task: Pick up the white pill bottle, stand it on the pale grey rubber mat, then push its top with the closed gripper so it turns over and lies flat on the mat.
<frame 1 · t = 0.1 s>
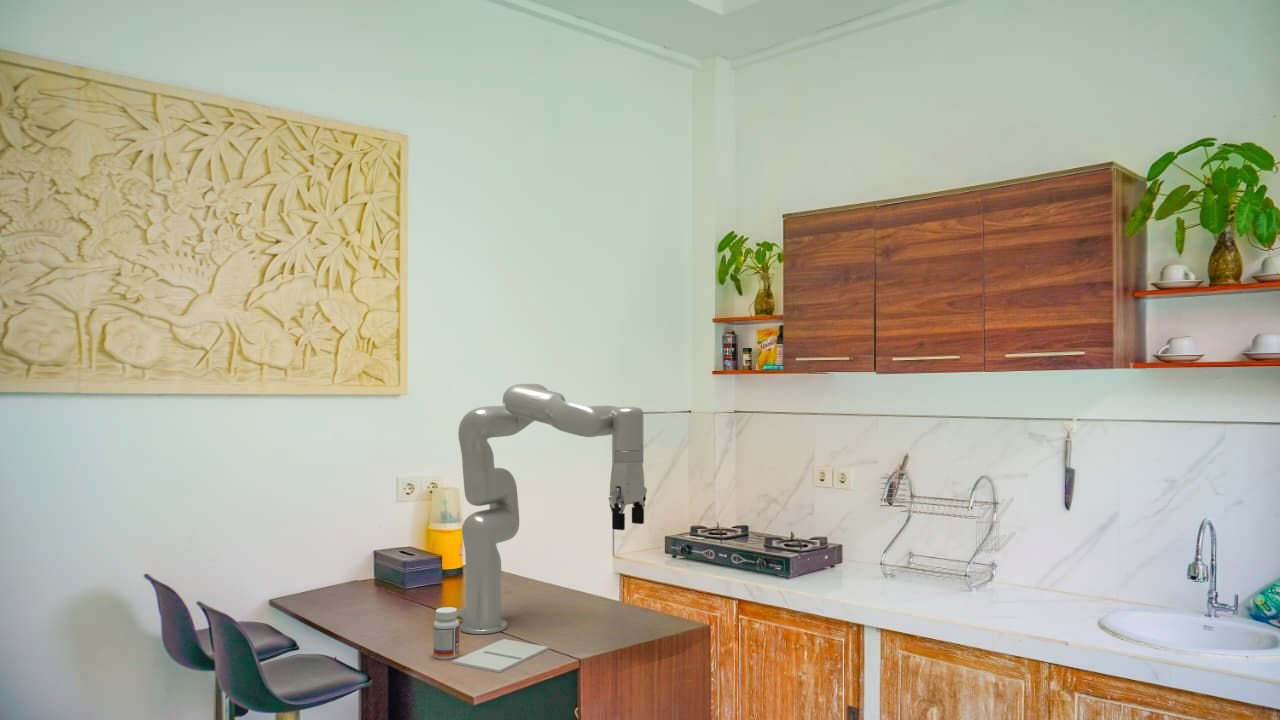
hand: (628, 526, 225), 31 cm above the table, fingers open, 9 cm apart
pill bottle: (446, 656, 222), on the table
mat: (501, 656, 222), on the table
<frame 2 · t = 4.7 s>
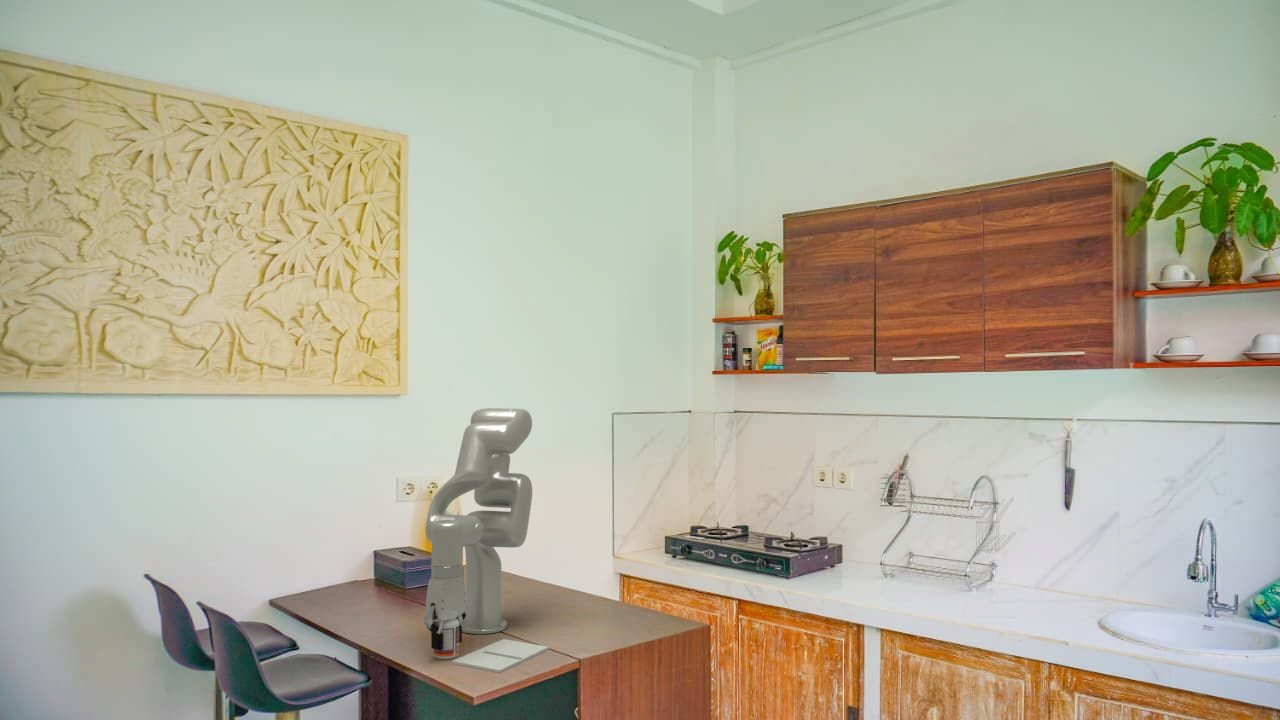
hand: (446, 644, 222), 3 cm above the table, fingers closed on pill bottle, 6 cm apart
pill bottle: (446, 656, 222), on the table, touching gripper
when the fingers open (4 cm above the table, at t = 10.6 s): pill bottle drops 1 cm, resting on mat.
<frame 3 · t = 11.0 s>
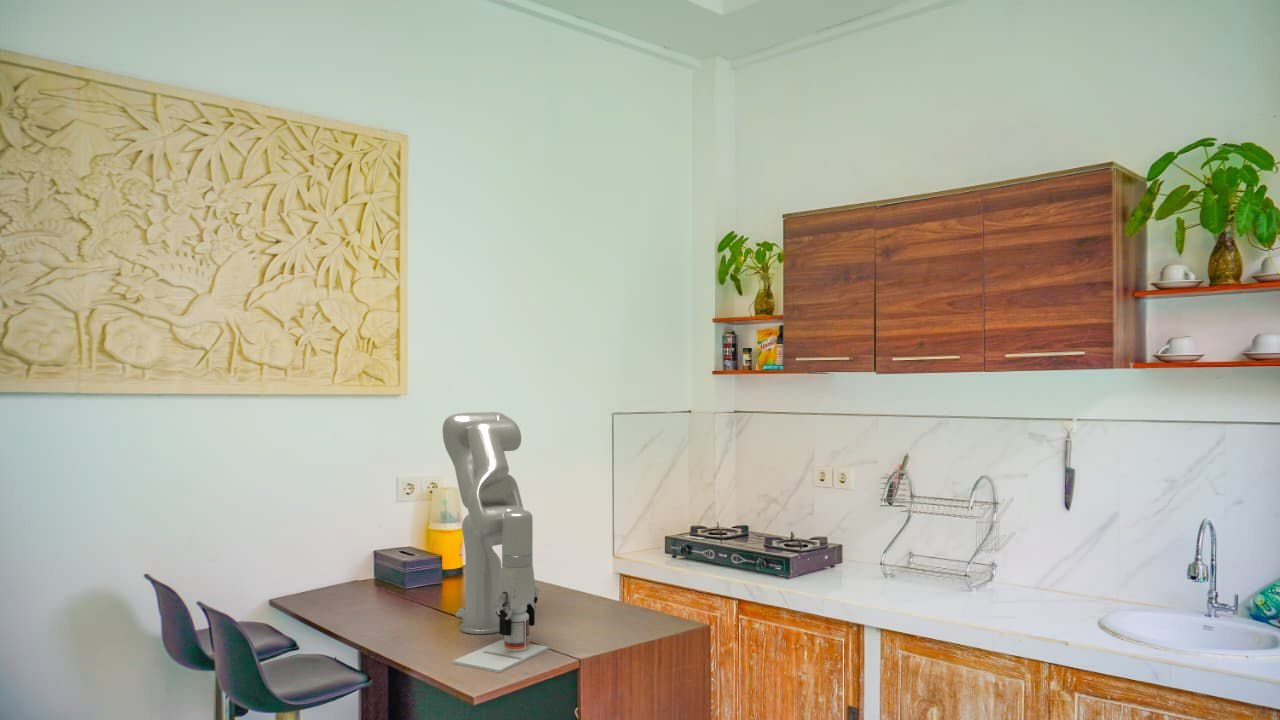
hand: (517, 629, 226), 5 cm above the table, fingers open, 9 cm apart
pill bottle: (516, 649, 226), resting on mat
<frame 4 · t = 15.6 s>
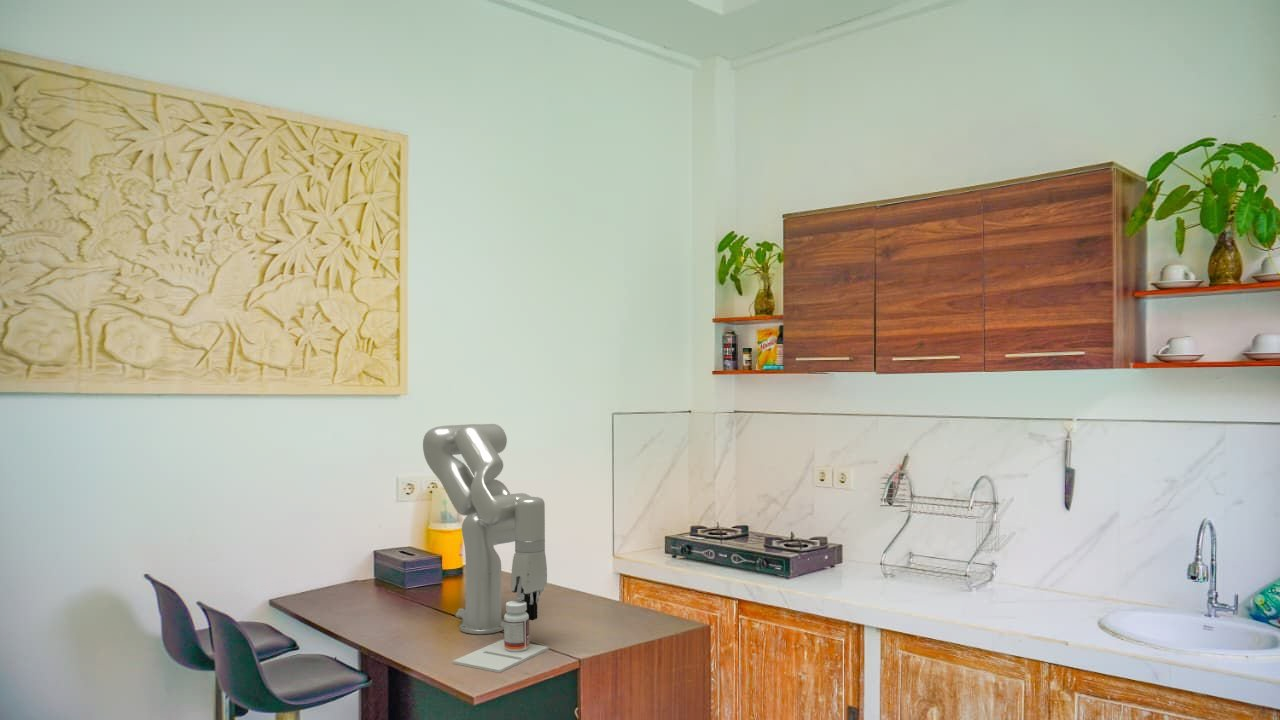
hand: (530, 618, 230), 7 cm above the table, fingers closed
pill bottle: (516, 649, 226), resting on mat, touching gripper
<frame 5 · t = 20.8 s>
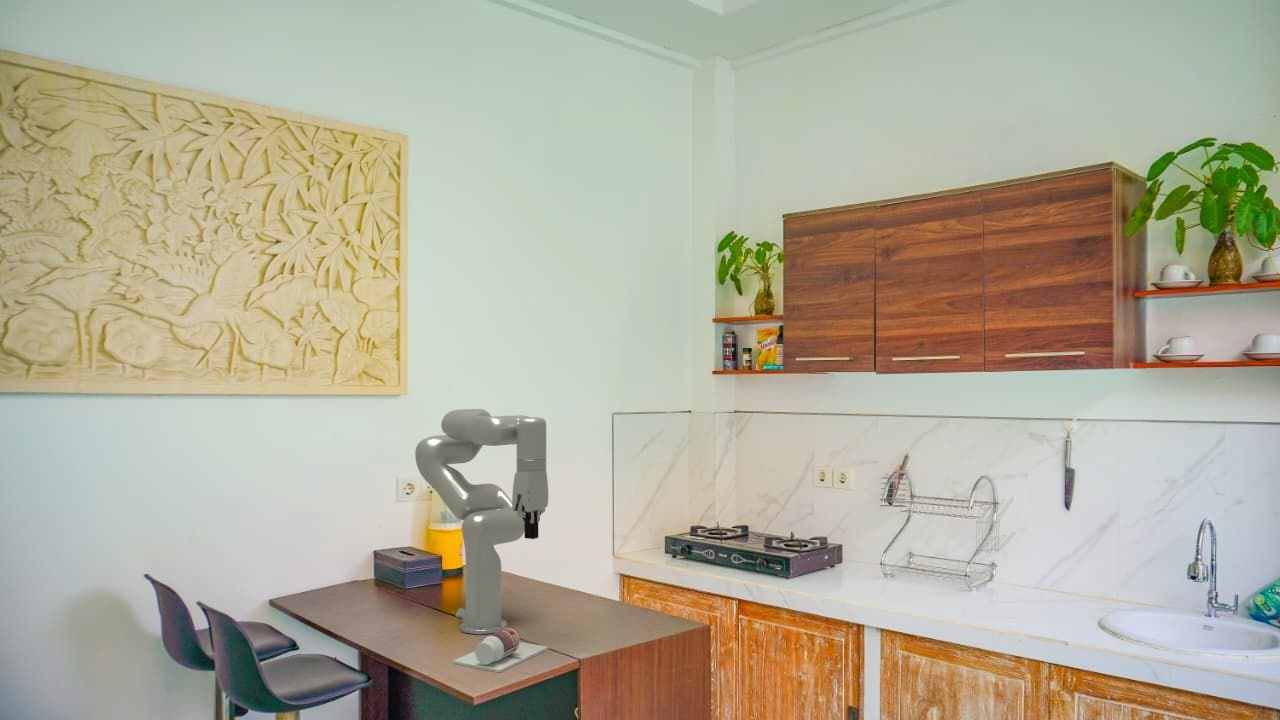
hand: (531, 538, 231), 27 cm above the table, fingers closed
pill bottle: (510, 639, 223), point 4 cm above the table, touching mat
at the end: pill bottle tilted 90°; pill bottle inside the target area (2.4 cm from its centre), point 3.7 cm above the table; the gripper is holding nothing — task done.
